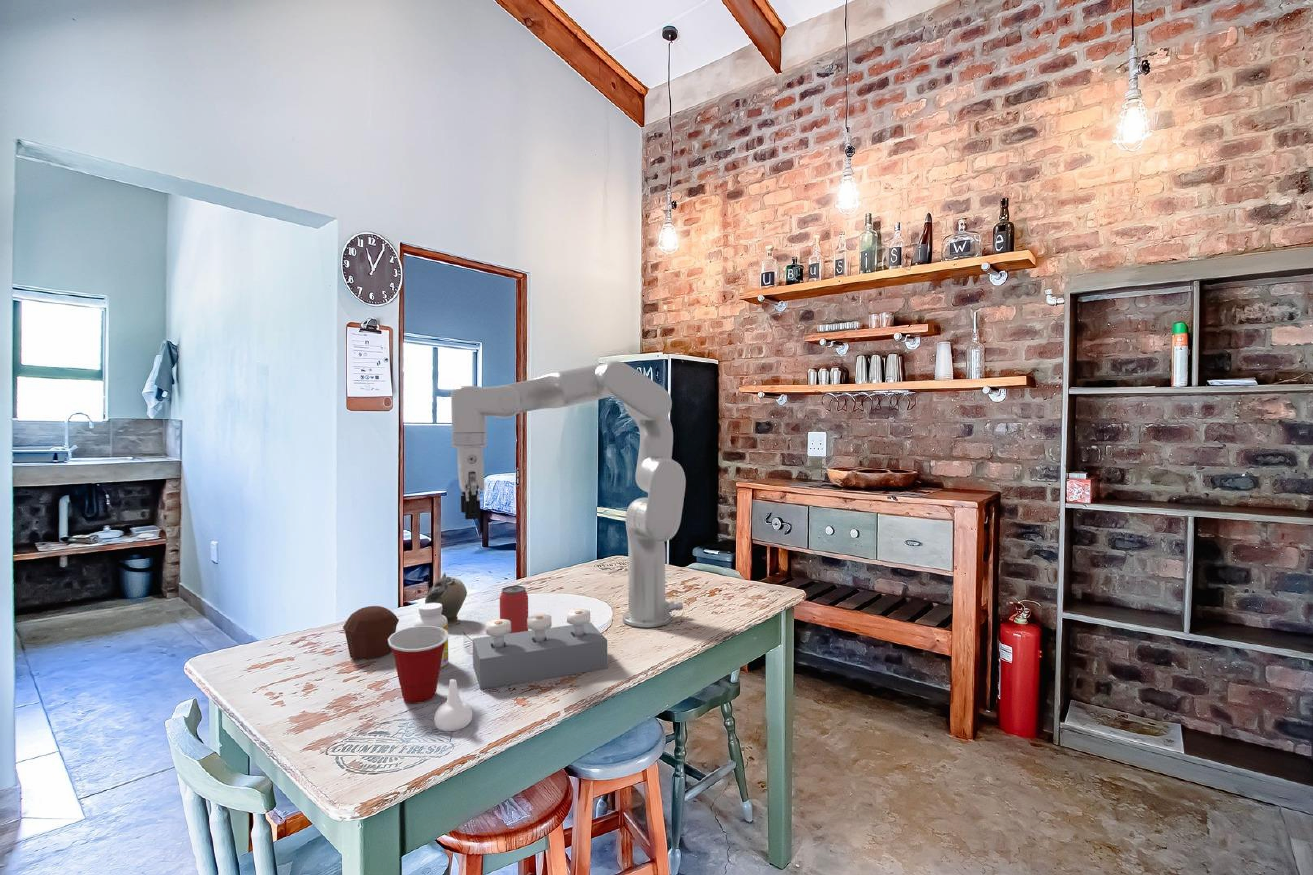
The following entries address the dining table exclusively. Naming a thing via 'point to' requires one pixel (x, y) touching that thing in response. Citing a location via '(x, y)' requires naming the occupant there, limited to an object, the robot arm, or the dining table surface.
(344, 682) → the dining table surface
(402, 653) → the plastic cup
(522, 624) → the beer can
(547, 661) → the console
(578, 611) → the knob
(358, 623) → the muffin
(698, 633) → the dining table surface
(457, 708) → the garlic bulb
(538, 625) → the knob middle
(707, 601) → the dining table surface
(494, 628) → the knob
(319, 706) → the dining table surface
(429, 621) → the supplement bottle
